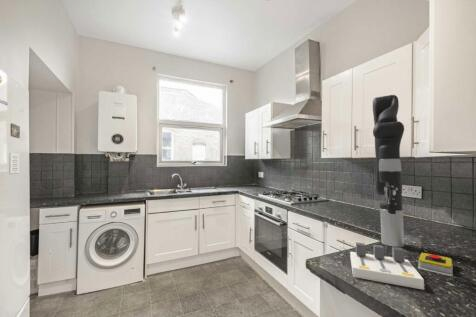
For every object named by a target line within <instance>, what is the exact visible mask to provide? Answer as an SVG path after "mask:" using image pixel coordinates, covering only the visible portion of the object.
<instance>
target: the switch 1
mask: <svg viewBox="0 0 476 317" xmlns="http://www.w3.org/2000/svg"><path fill="white" fill-rule="evenodd" d="M355 252H356V254H357V255H359V256H366V254H367V252H366V244H365V243H364V242H363V243H362V242H355Z"/></svg>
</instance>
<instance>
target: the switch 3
mask: <svg viewBox="0 0 476 317" xmlns="http://www.w3.org/2000/svg"><path fill="white" fill-rule="evenodd" d="M391 250H392V251H391V252H392V254H391V255H392V256H391V257H393V259H394V261H400V262H405V260H404V259H405V250H404V249H403V247H393V246H391Z"/></svg>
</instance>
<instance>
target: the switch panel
mask: <svg viewBox="0 0 476 317" xmlns="http://www.w3.org/2000/svg"><path fill="white" fill-rule="evenodd" d="M349 256H350V265H351V270H352V271H351V272H352V277H353V278H358V279H364V280H370V281H374V282H379V283H385V284H390V285H396V286H401V287H407V288H413V289H417V290H418V289H419V290H423V291H424V290H425V280H424V278H423V277H422V275H421V274H420V273H419V272H418V270H417V269H416V268H415V267H414V266H413V264H412V263H411V262H410V261H409V259H405V258H404V260H405V262H400V261H394V259H393V257H392V256H385V255H384V258H385V259H380V258H375V257H374V254H370V253H366V256H359V255H357V254H356V251H350V253H349Z"/></svg>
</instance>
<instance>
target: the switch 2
mask: <svg viewBox="0 0 476 317" xmlns="http://www.w3.org/2000/svg"><path fill="white" fill-rule="evenodd" d="M372 246H373V255H374V257H375V258H380V259H385V258H384V256H385V248H384V246H383V245H380V244H373V245H372Z"/></svg>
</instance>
